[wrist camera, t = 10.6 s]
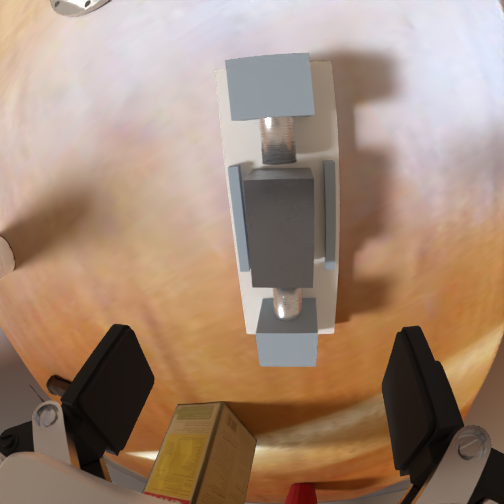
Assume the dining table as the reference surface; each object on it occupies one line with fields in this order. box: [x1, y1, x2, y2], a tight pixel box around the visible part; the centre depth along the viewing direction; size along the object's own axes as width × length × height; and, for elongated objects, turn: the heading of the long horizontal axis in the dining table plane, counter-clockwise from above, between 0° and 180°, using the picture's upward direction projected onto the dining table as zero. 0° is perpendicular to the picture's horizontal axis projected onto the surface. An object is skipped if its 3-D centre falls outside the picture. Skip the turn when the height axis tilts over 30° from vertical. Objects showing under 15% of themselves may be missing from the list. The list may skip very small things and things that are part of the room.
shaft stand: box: [214, 53, 340, 367], centre depth 22 cm, size 25×9×6 cm, turn 6°
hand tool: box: [47, 375, 70, 397], centre depth 44 cm, size 19×4×5 cm, turn 93°
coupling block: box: [243, 168, 314, 288], centre depth 22 cm, size 8×4×4 cm, turn 5°
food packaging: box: [142, 402, 257, 504], centre depth 31 cm, size 13×9×25 cm
